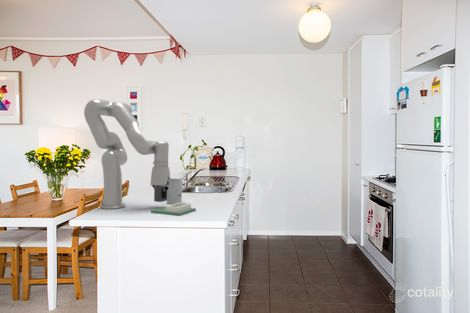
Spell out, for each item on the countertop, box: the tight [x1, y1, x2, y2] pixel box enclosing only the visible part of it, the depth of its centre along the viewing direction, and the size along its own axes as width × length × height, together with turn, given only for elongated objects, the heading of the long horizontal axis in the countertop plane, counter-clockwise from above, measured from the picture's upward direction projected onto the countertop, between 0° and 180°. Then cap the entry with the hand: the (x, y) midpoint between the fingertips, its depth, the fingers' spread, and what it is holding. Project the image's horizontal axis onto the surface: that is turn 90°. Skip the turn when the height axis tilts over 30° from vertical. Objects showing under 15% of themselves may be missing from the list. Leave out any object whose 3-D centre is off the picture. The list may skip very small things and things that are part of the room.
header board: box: [150, 202, 197, 217], centre depth 194 cm, size 18×14×4 cm
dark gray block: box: [153, 186, 167, 203], centre depth 205 cm, size 4×7×8 cm, turn 153°
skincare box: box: [166, 176, 183, 205], centre depth 219 cm, size 8×6×15 cm
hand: (160, 197), depth 205 cm, fingers closed on dark gray block, 4 cm apart
